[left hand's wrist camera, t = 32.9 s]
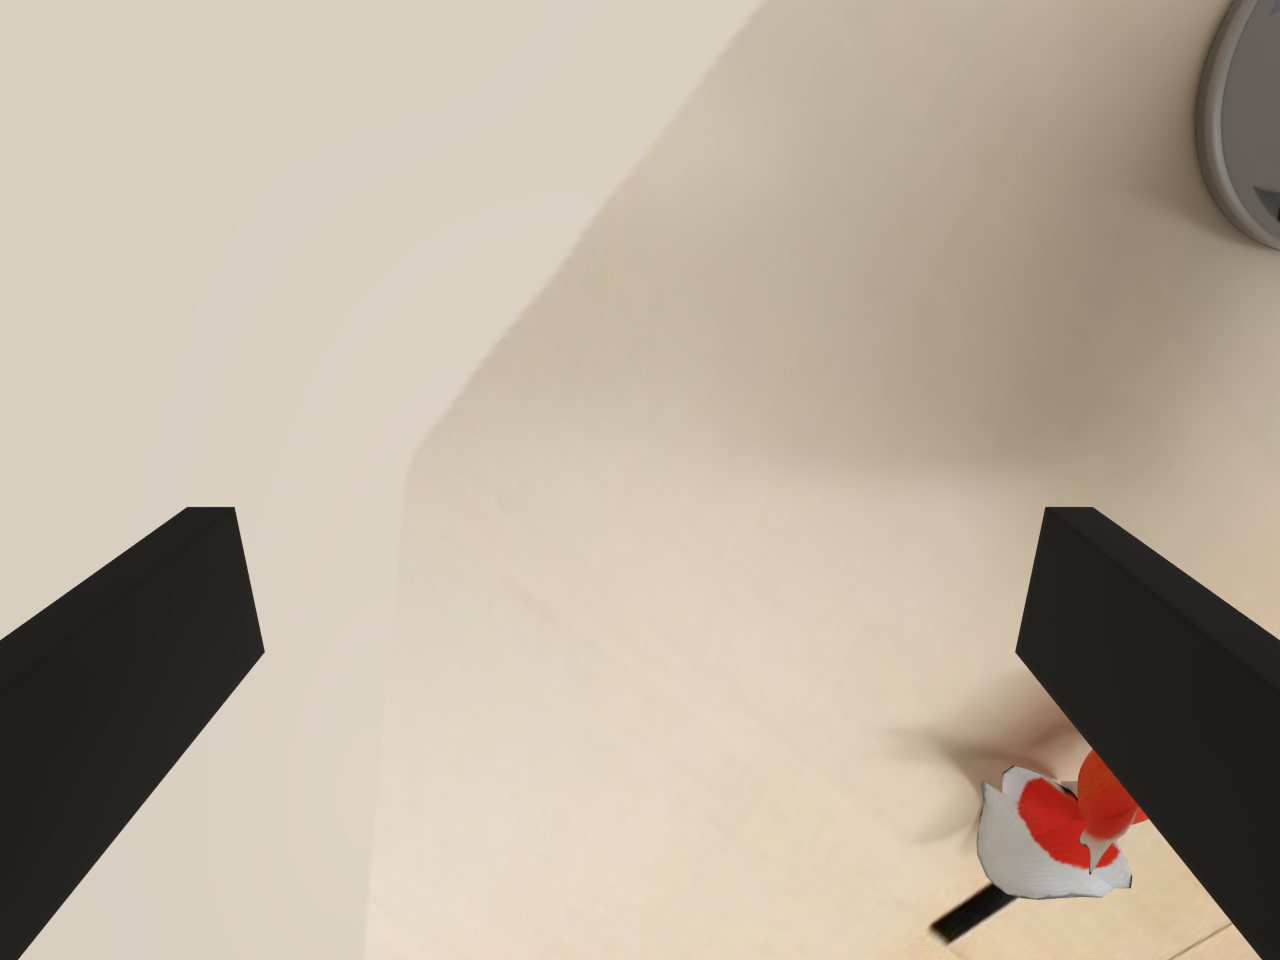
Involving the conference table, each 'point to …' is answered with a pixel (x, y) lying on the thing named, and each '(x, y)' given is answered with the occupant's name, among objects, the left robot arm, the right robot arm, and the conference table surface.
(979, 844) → the fish
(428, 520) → the conference table surface
